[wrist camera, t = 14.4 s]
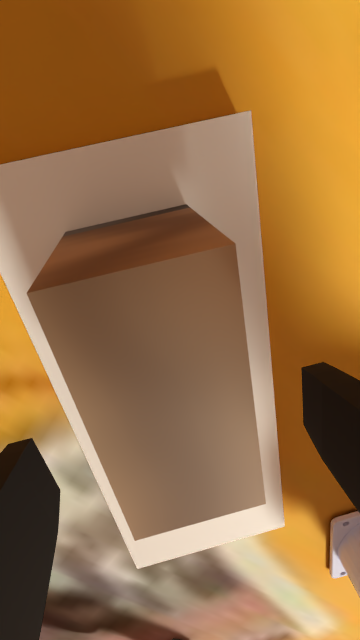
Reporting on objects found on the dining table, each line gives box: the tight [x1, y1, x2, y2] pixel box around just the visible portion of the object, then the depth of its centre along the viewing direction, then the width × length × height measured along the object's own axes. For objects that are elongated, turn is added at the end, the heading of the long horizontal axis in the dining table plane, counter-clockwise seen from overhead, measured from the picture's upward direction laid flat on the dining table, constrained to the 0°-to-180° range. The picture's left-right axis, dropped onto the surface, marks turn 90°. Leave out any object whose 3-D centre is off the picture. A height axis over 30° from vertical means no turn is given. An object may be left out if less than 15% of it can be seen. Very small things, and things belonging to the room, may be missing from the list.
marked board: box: [0, 110, 285, 569], centre depth 18 cm, size 10×24×2 cm, turn 11°
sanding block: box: [27, 204, 266, 541], centre depth 12 cm, size 4×9×6 cm, turn 11°
